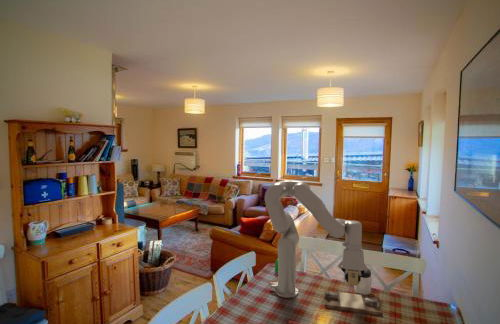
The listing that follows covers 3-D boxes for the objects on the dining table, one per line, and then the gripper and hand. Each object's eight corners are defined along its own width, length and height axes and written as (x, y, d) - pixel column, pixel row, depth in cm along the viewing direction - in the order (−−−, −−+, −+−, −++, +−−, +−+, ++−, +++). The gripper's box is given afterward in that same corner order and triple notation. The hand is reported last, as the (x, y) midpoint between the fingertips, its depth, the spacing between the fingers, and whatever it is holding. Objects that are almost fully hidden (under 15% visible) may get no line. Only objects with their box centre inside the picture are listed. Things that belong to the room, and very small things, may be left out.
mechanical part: (282, 275, 177) (283, 262, 176) (274, 272, 181) (275, 259, 180) (293, 269, 186) (293, 256, 185) (285, 266, 190) (286, 254, 189)
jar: (362, 296, 152) (363, 274, 152) (350, 289, 159) (351, 268, 159) (374, 293, 156) (374, 271, 156) (362, 286, 163) (363, 265, 163)
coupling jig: (324, 307, 142) (324, 298, 141) (324, 293, 155) (324, 285, 155) (381, 315, 135) (382, 306, 135) (376, 300, 149) (376, 292, 148)
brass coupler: (348, 285, 142) (348, 271, 142) (347, 279, 148) (347, 266, 148) (358, 286, 141) (358, 272, 140) (356, 280, 147) (357, 267, 147)
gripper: (335, 247, 142) (335, 283, 143) (372, 250, 138) (371, 287, 139) (335, 242, 149) (334, 276, 150) (370, 245, 145) (369, 280, 146)
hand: (352, 281), depth 144 cm, fingers closed on brass coupler, 4 cm apart
